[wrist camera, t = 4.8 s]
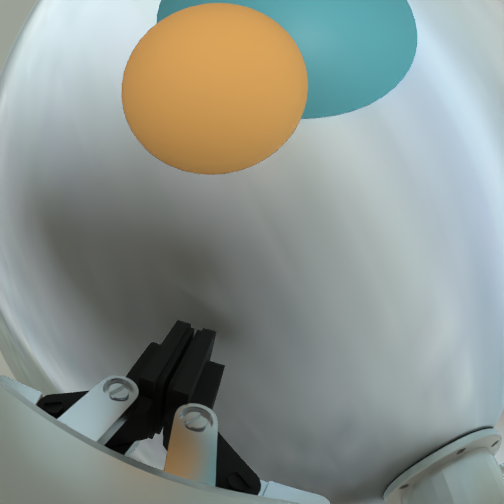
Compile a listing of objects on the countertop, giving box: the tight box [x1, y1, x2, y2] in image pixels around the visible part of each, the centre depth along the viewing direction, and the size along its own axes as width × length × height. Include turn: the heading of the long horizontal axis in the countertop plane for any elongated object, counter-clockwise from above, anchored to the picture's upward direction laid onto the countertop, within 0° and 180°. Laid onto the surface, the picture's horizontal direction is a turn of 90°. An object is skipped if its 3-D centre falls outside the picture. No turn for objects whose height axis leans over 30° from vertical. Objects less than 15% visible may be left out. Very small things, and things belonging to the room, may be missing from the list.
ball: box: [122, 3, 308, 174], centre depth 7 cm, size 6×6×6 cm
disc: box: [157, 0, 417, 119], centre depth 8 cm, size 12×12×1 cm
